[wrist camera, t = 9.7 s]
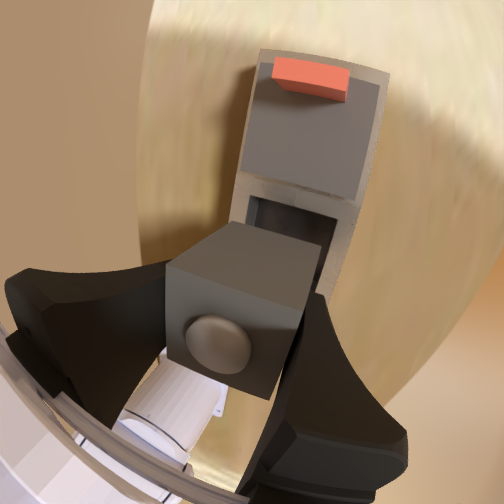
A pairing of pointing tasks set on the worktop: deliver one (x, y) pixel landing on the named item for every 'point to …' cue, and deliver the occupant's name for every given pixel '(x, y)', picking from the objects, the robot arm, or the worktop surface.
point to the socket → (308, 189)
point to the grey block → (238, 305)
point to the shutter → (310, 125)
